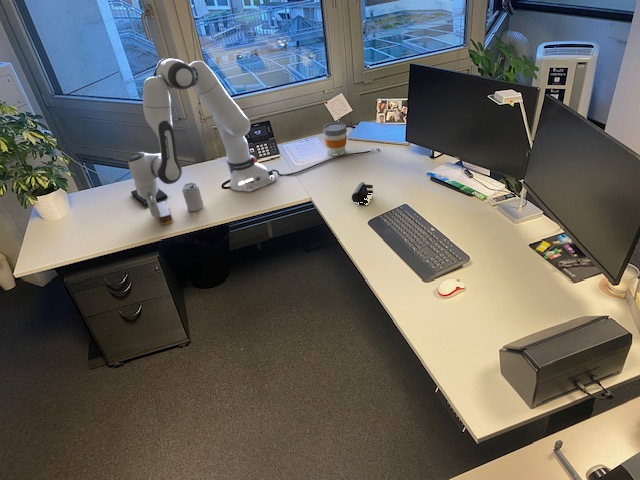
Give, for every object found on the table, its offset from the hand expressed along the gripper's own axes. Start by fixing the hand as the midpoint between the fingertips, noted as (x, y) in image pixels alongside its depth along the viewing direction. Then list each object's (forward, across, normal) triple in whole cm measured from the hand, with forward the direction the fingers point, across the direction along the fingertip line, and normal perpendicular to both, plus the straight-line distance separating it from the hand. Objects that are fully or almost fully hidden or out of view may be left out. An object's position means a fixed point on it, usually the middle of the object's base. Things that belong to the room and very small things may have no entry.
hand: (156, 215), depth 212 cm
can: (+2, 0, -18) cm, 18 cm away
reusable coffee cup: (+1, +14, -100) cm, 101 cm away
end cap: (+2, -38, -87) cm, 95 cm away
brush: (+2, 0, -3) cm, 4 cm away
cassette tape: (+2, +25, 0) cm, 25 cm away
